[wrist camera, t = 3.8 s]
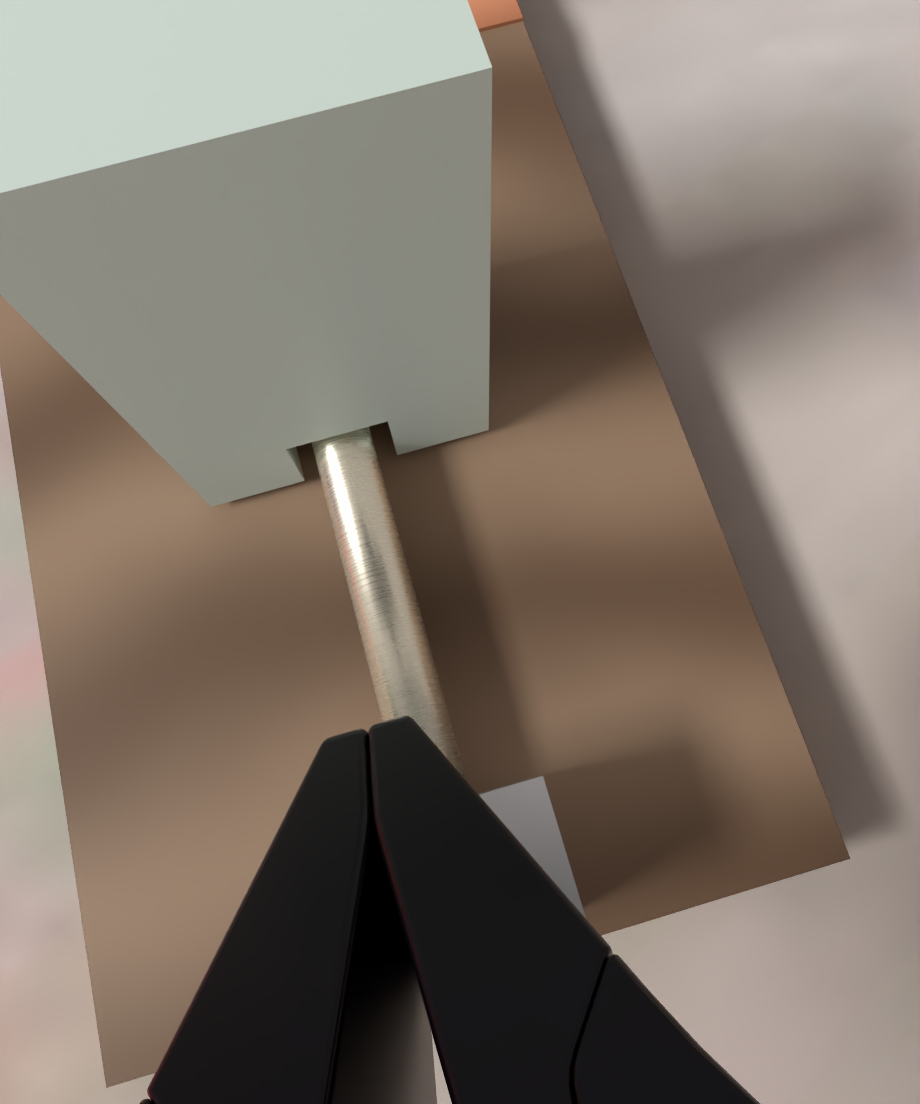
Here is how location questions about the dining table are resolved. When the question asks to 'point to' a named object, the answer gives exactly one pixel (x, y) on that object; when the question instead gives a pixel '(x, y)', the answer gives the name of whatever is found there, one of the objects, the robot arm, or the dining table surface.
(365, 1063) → the robot arm
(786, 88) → the dining table surface
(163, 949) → the cord board
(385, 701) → the rod with end blocks
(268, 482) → the notched sage block
